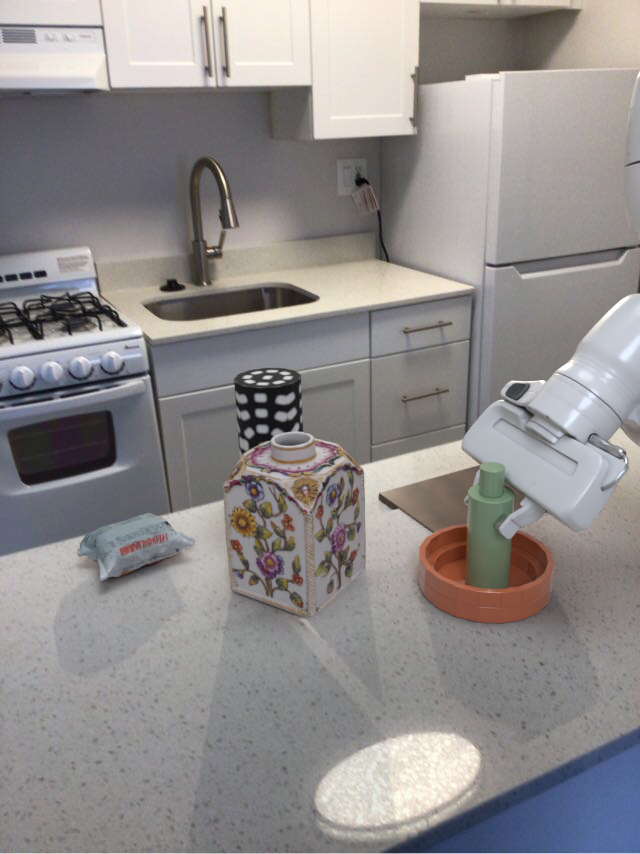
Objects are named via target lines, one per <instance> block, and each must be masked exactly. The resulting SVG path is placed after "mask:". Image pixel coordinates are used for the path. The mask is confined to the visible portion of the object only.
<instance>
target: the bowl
mask: <svg viewBox="0 0 640 854" xmlns="http://www.w3.org/2000/svg"><path fill="white" fill-rule="evenodd" d="M466 544H467V524H461V525H453V526H450V527H446V528H443V529H440V530H437V531H436V532H434V533H431V534H429V535H427V536H426V537H425V538H424V540H423V542H422V543H421V544H420V546H419V552H418V587H419V590H420V591H421V593H422V595H423V597H424V599H426V600H427V601H428V602H430V603H431V604H432V605H433V606H435V608H437V609H439V610H441V611H443V612H444V613H447V614H448V615H451V616H453V617H456V618H458V619H463V620H466V621H471V622H475V623H483V624H484V623H485V624H505V623H512V622H518V621H519V622H520V621H522V620H525V619H527V618H530V617H533V616H535V615H537V614H539V613H540V612H541V611H542V610H543V609H544V608H546V607H547V606H548V604H549V603H550V600H551V597H552V595H553V588H554V578H555V566H556V563H555V559H554V556H553V553H552V551H551V550H550V548H548V547H547V545H546V544H544V542H543V541H541V540H539V539H537V538H536V537H534V536H533V535H531V534H529V533H527V532H524V531H521V530H520V529H519V530H518V531H517V532H516V533H515V535H514V536H513V537H512V549H511V566H510V583H509V586H508V588H506V589H486V588H477V587H473V586H468V585H467V583H466V581H465V574H466Z"/></svg>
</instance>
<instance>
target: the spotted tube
mask: <svg viewBox="0 0 640 854" xmlns="http://www.w3.org/2000/svg"><path fill="white" fill-rule="evenodd" d="M233 383H234V397H235V410H236V412H235V413H236V425H237V438H238V450H239V452H238V453H239V458H240V457H241V456H242V455H243V453H245V452H246V451H248V450H250V449H252V448H254V447H256V446H258V445H260V444H262V443H264V442H266V441H271V439H272V438H273V437H274V436H276V435H278V434H282V433H286V432H304V419H303V417H304V416H303V415H304V414H303V397H302V395H303V394H302V393H303V391H302V389H303V388H302V375H301V373H300V372H298V371H297V370H294V369H290V368H284V367H261V368H254V369H249V370H245V371H242V372H240V373H238V374H236V375H235V376H234V378H233Z"/></svg>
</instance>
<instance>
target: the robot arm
mask: <svg viewBox="0 0 640 854" xmlns="http://www.w3.org/2000/svg"><path fill="white" fill-rule="evenodd" d="M624 140H625V141H624V156H623V181H622V182H623V187H622V190H623V191H622V192H623V203H624V211H625V215H626V216H625V217H626V220H627V224H628V228H629V229H630V230H631V232H632V233H633V234H634V236H635V237H636V238H637V239H638V240H639V241H640V71H638V74H637V76H636V79H635V80H634V86H633V90H632V95H631V100H630V105H629V110H628V116H627V122H626V130H625V139H624ZM499 395H500V397H501V398H502V399H498V400H496V401H494V402H492V403H491V404H490V405H489V406H488V407H487V408H486V409H485V410H484V411H483V412H482V413H481V414H480V416H478V418H477V419H476V420H475V421H474V423H472V425H471V426H470V428H468V431H466V433H465V434H464V436H463V438H462V442H461V446H460V448H461V450H462V451H463V452H464V453H465V454H466V455H467V456H468V457H470V458H471V459H472V460H473V461H475V462H476V463H477V464H478V465H481V464H483V463H486V462H497V463H501V464H503V465H504V466H505V483H506V484H508V485H509V486H511V487H512V488H513V489H515V490H516V491H518V492H519V493H520V494H522V495H523V496H525V498H524V499H523V500H522V502H521V503H520V505H521V506H522V508H520V509H518V510H517V511H515V512H513V513H512V514H510V515H508V517H507V516H506V515H505V514H502V515H501V516H500V517H499V519H498V521H496V522H495V523H494V528H495V529H496V530H497V531H498V532H500V533H501V534H502V535H503V536H504V537H506V538H507V539H511V538H512V537H513V536H514V535H515V533H516V532H517V531H518V530H519V531H520V529H521V528H525V527H526V526H529V525H531V524H533V523H535V522H538V521H540V519H541V518H542V517H543V515H544V514H546V513H547V514H548V515H549V516H551V517H552V518H554V519H555V520H557V522H559V523H560V524H562V525H563V526H565V527H567V529H569V530H570V531H572V532H574V533H579V532H582V531H584V530H587V529H588V528H589V527H590V526H591V525H592V524H593V523H594V521H596V519H597V517H598V516H599V515H600V513H601V512H602V510H603V509H604V508H605V506H606V505H607V503H608V502H609V500H610V499H611V497H612V495H613V493H614V492H615V490H616V488H617V486H618V484H619V482H620V481H621V480H622V479H623V478H624V476H625V475H626V474H627V473H628V471H629V458H628V456H627V451H626V450H625V449H624V448H622V447H621V446H618V445H616V444H615V445H614V444H612V443H611V442H610V439H612V438H613V436H614V435H615V434H616V433H617V431H618V430H619V429H621V431H623V433H624V435H626V436H627V437H628V439H629V440H631V441H632V442H633V443H634V444H635V445H636V446H638V447H639V448H640V292H638V293H637V292H636V293H631V294H628V295H626V296H625V297H623V298H622V299H621V300H619V301H618V302H616V304H615V305H614V306H611V308H610V309H609V310H608V311H607V312H605V314H603V316H602V317H600V319H599V320H598V321H597V322H596V323H595V324H594V325H593V326H592V328H591V329H590V330H589V331H588V332H587V333H586V334H585V335H584V336H583V338H582V339H581V340H580V341H579V342H578V345H577V347H576V350H575V352H574V353H573V355H572V357H570V359H569V360H568V361H567V362H566V363H565V364H564V365H562V366H561V367H559V368H557V369H556V370H555V371H554V372H553V373H552V375H551V376H550V377H549V378H548V379H547V380H543V379H542V380H541V379H540V380H531V381H527V380H525V381H523V380H522V381H521V380H511V381H508V382H507V383H506V384H505V385H504V386H503V388H502V389H501V390H500V393H499ZM479 475H480V469H479V470H478V471H477V473H476V476H475V479H474V483H473V486H474V485H477V484H479ZM464 503H465V504H466V505H467V506H468V495H467V496H466V497H465V499H464ZM545 512H546V513H545Z"/></svg>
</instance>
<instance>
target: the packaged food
mask: <svg viewBox="0 0 640 854" xmlns="http://www.w3.org/2000/svg"><path fill="white" fill-rule="evenodd" d="M195 542H196V541H195V538H194V537H190V536H188V535H186V534H184V533H183V532H179V531H177V530H176V529H174V527H173V526H172V525H171V523H170V522H169V521H167V519H166V518H164V517H162V516H159V515H156V514H154V513H151V512H146V513H144V514H139V515H136V516H133V517H129V518H128V519H125V520H121V521H117V522H114V523H110V524H108V525H103V526H100V527H99V528H96V529H94V530H92V531H89V532H88V533H86V534H85V535H84V537H83V538H82V539H81V541H80V543H78V544H79V548H77V551H76V554H77V557H79V558H81V557H83V556H84V557H87V558H88V559H90V560H93V561H95V562H97V566H98V573H99V576H98V577H99V581H100V582H103V581H106V580H107V579H108V578H112V577H113V578H119V577H122V576H124V575H126V574H129V573H131V572H134V571H136V570H138V569H140V568H142V567H144V566H148V565H149V566H150V565H154V564H156V563H159V562H161V561H162V560H164V559H168V558H170V557H173V556H175V555H178V554H180V553H182V552H183V551H184V550H188V548H189V549H190V548H191V547H193V546H194V545H195Z"/></svg>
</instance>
